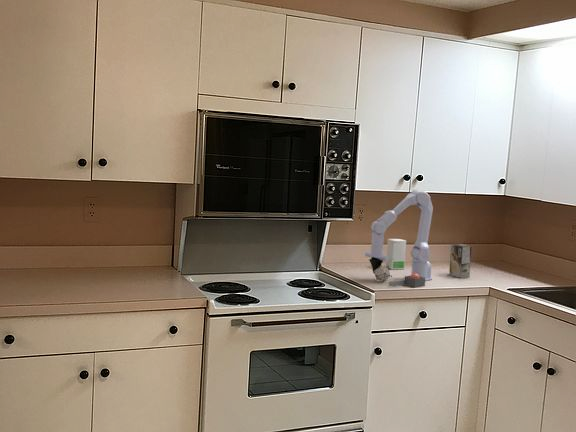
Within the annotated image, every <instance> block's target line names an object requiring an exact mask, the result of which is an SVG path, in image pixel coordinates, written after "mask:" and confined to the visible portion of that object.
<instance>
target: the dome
mask: <svg viewBox="0 0 576 432" xmlns="http://www.w3.org/2000/svg"><path fill="white" fill-rule="evenodd" d="M409 276H410V277H411V278H414V279H418V278H420V276H419V275H418V274H417V273H413V274H412V275H411V274H410V275H409Z"/></svg>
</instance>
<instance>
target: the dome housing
mask: <svg viewBox="0 0 576 432" xmlns="http://www.w3.org/2000/svg"><path fill="white" fill-rule="evenodd" d="M410 276H411V275H405V276H404V280H405V281H404V284H405V285H406V286H408V287H411V286H412V287H411V288H421V287H426V280H425V278H424V277H421V276H420V278H418V279H414V278H411V277H410ZM405 285H404V286H405Z"/></svg>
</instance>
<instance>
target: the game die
mask: <svg viewBox="0 0 576 432" xmlns="http://www.w3.org/2000/svg"><path fill="white" fill-rule="evenodd" d="M380 265H381V266H380V267H379V266H378V268H377V269H376V270H373V269H372V272H373V271H374V273H375V274H374V273H373V274H374V276H375V278H376V279H375V281H379V282H380V281H382V283H383V282H384V283H385V280H386V281H387V280H388V279H389V278H390V277H391V278H392V277H393V275H391V272H390V269H389V268H388V267H389V266H388V267H386V265H385V266H384V265H382V264H380Z"/></svg>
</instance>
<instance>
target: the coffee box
mask: <svg viewBox="0 0 576 432" xmlns="http://www.w3.org/2000/svg"><path fill="white" fill-rule="evenodd" d="M449 256H450V257H449V270H448V271H449V272H448V273H449V276H452V277H453V276H454V277H456V278H459V279H463V278H466V279H467V278H470V276H471V260H472V246H471V245H468V244H467V245H466V244H464V243H463V244H462V243H451V244H450V255H449Z"/></svg>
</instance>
